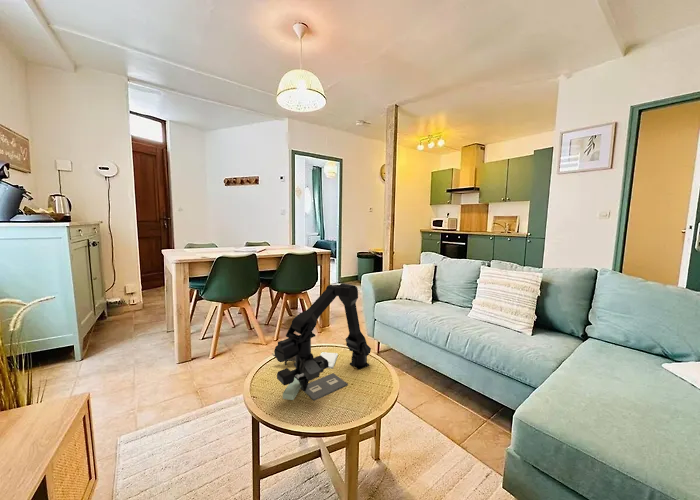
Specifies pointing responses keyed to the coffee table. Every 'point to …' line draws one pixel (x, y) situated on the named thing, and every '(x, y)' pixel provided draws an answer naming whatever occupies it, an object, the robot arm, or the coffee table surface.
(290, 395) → the swing arm
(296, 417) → the coffee table surface
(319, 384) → the label panel
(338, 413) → the coffee table surface
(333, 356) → the external hard drive
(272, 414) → the coffee table surface
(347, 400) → the coffee table surface
